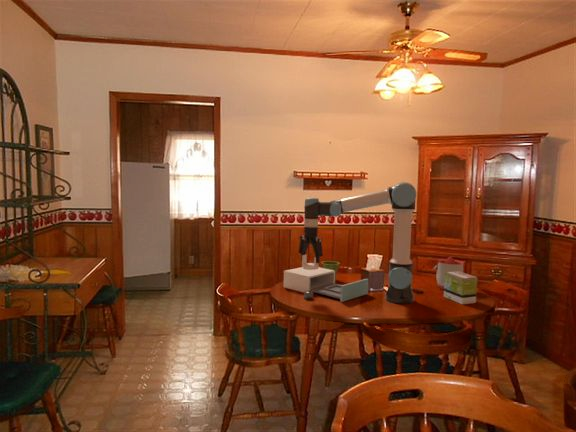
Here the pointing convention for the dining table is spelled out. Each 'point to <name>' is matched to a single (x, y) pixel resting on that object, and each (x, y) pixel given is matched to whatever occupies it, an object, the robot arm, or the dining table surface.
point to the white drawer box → (307, 278)
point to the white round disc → (308, 266)
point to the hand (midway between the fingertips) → (310, 267)
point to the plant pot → (331, 266)
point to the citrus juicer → (447, 269)
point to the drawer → (344, 290)
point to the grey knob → (308, 295)
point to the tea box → (460, 287)
